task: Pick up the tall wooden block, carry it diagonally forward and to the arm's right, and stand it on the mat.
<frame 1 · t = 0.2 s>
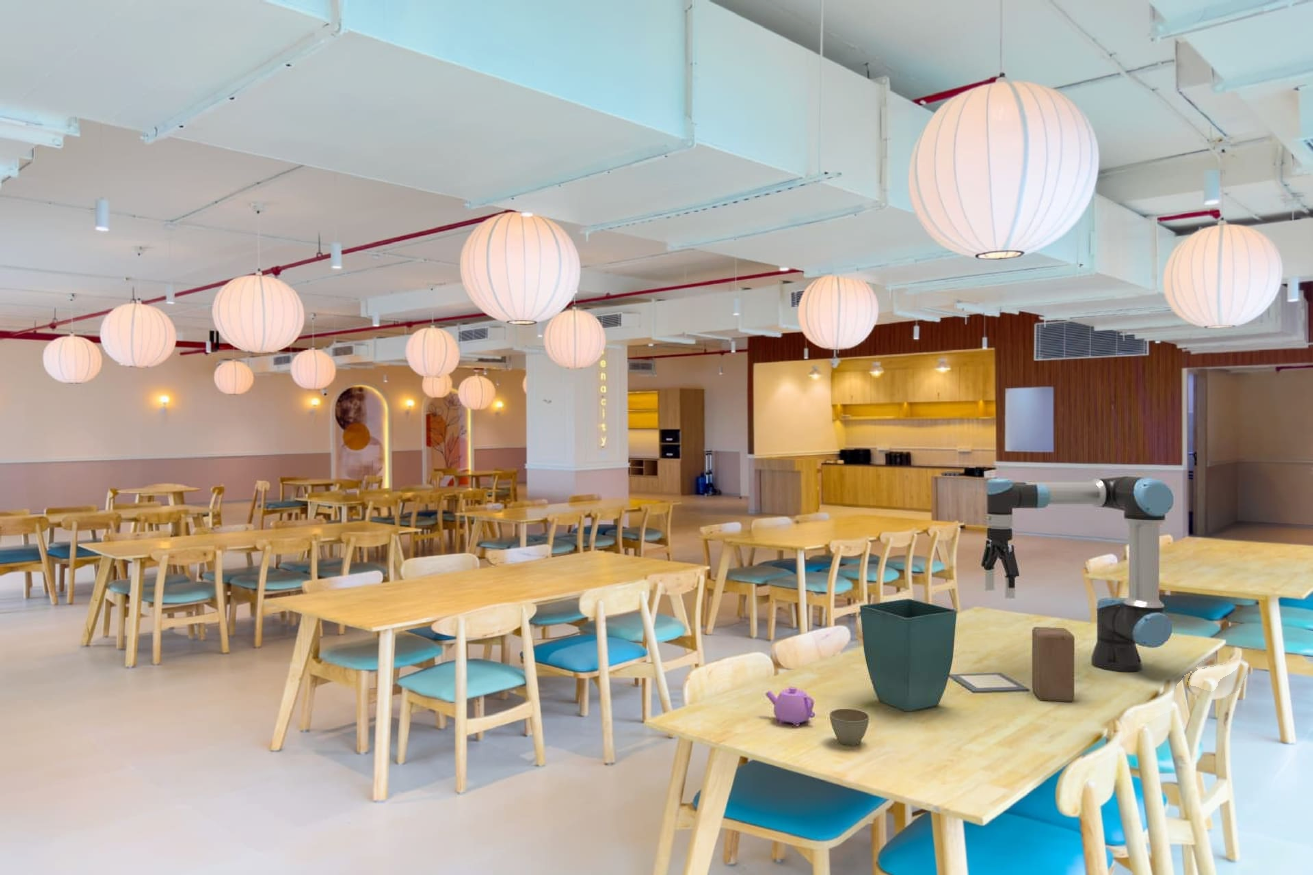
hand: (999, 594, 276), 28 cm above the table, fingers open, 13 cm apart
wooden block: (1052, 697, 262), on the table
bowl: (849, 743, 224), on the table
teapot: (789, 721, 241), on the table
mat: (987, 683, 275), on the table
flower pot: (907, 704, 255), on the table
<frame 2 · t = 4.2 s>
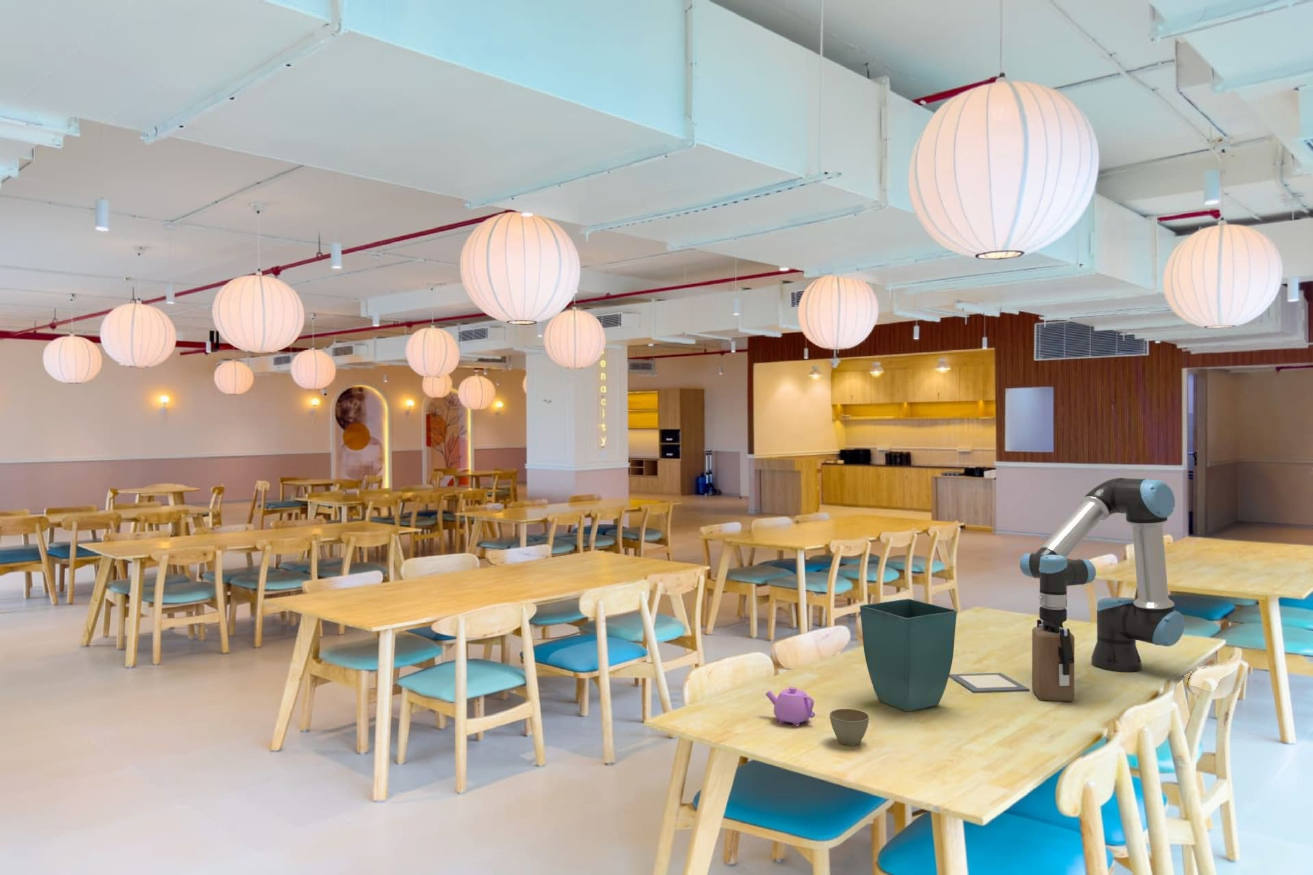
hand: (1052, 679, 262), 5 cm above the table, fingers closed on wooden block, 11 cm apart
wooden block: (1052, 697, 262), on the table, touching gripper
everything else where it was.
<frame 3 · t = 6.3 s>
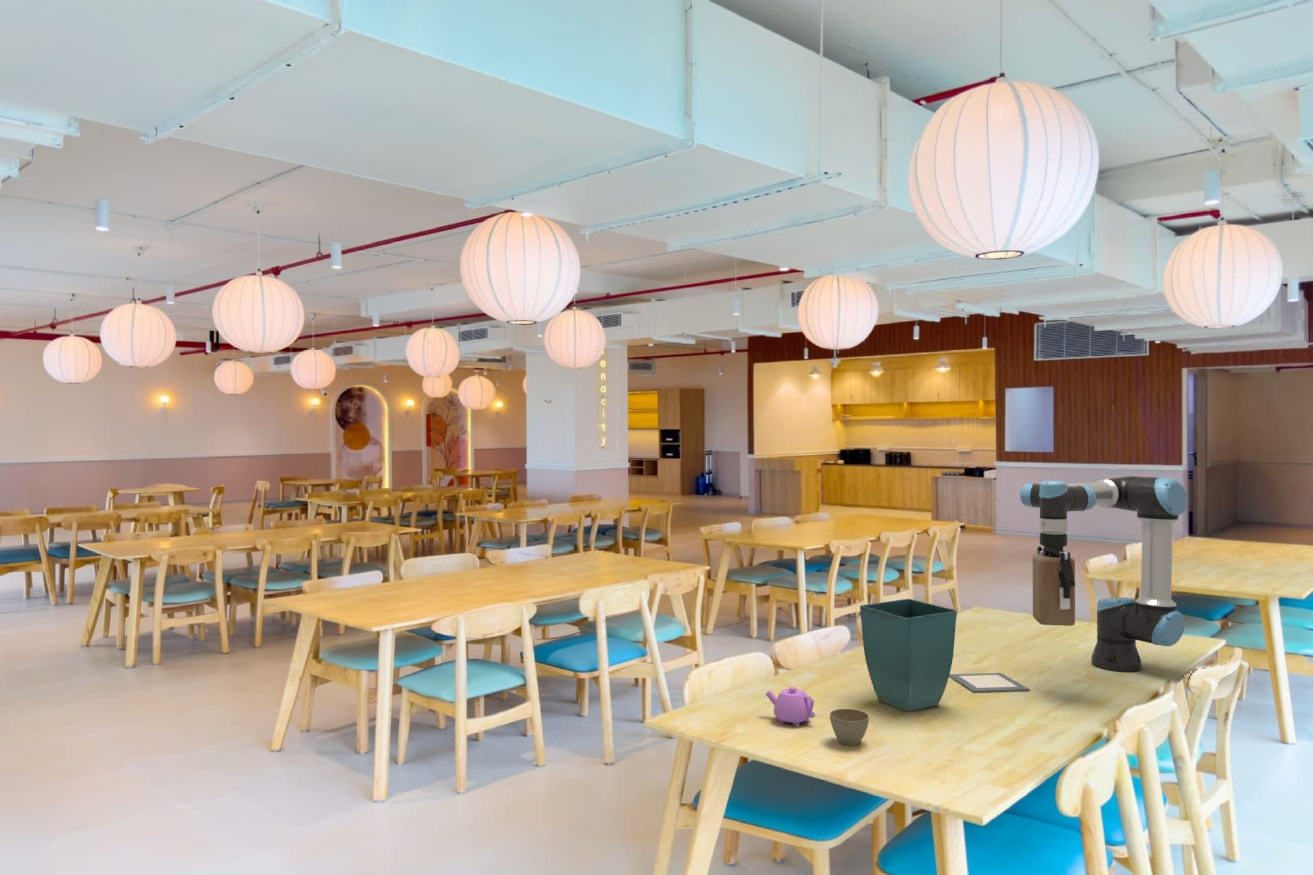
hand: (1053, 604, 261), 28 cm above the table, fingers closed on wooden block, 11 cm apart
wooden block: (1053, 622, 262), point 22 cm above the table, touching gripper
everything else where it was.
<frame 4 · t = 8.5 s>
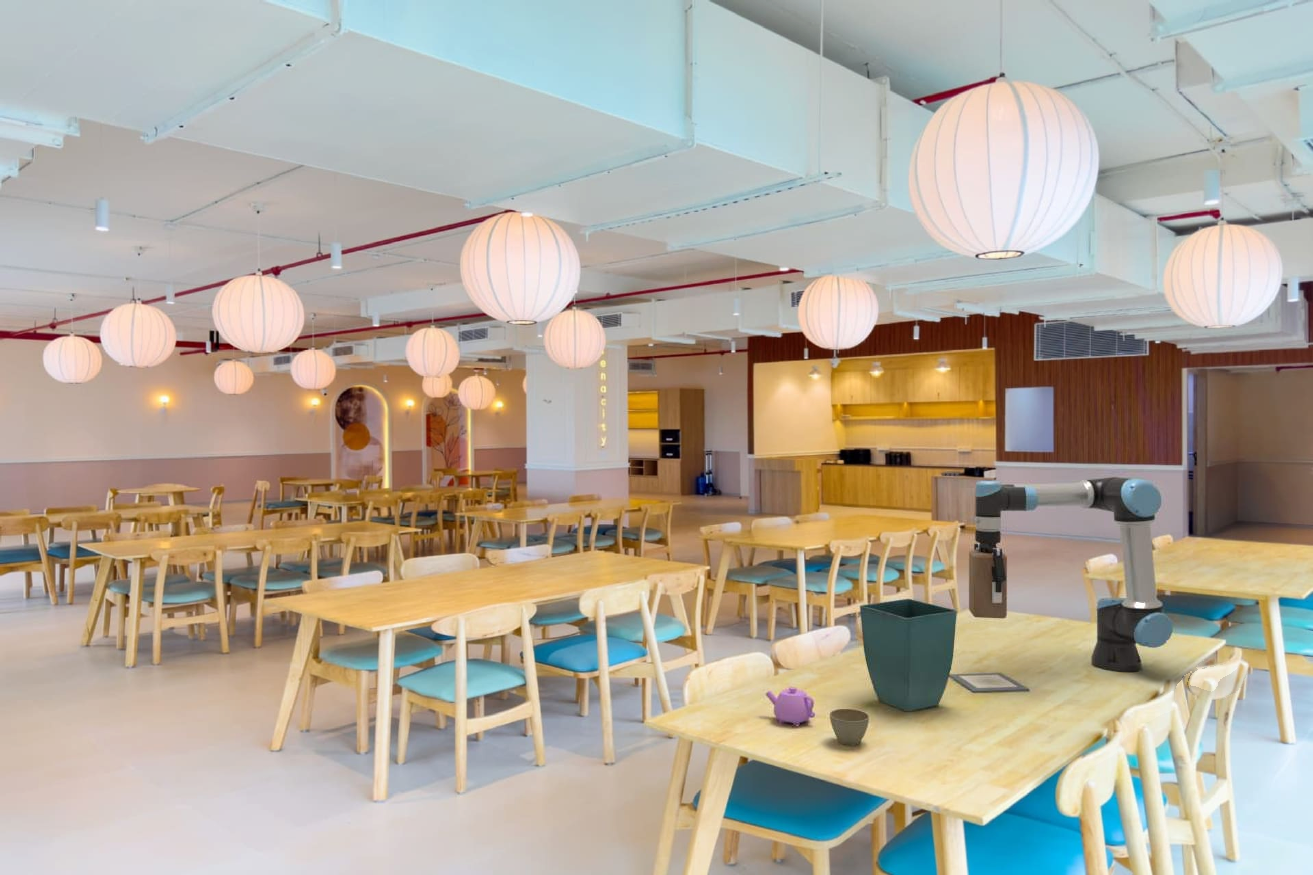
hand: (987, 598, 275), 27 cm above the table, fingers closed on wooden block, 11 cm apart
wooden block: (987, 615, 275), point 21 cm above the table, touching gripper
everything else where it was.
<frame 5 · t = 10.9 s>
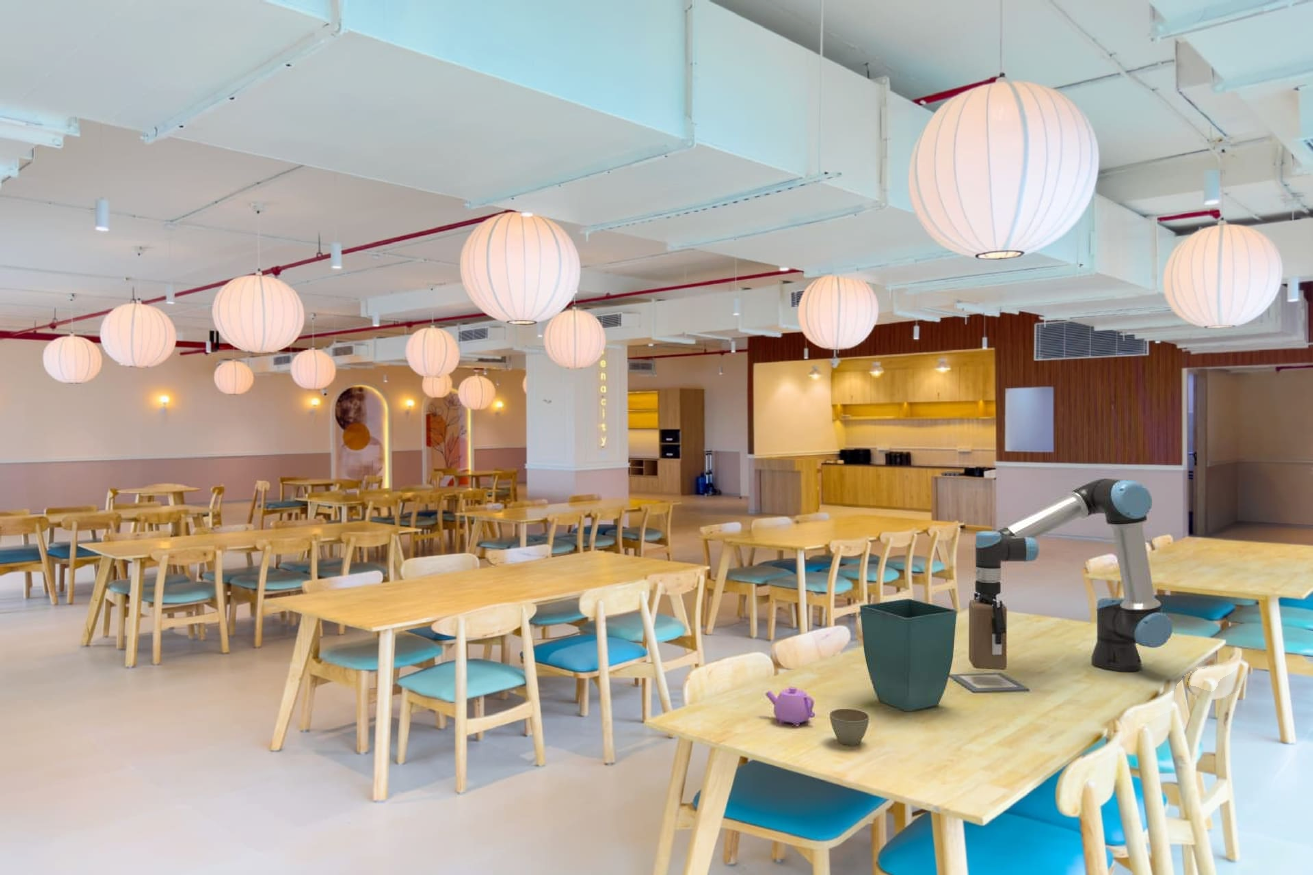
hand: (987, 649, 275), 11 cm above the table, fingers closed on wooden block, 11 cm apart
wooden block: (987, 666, 275), point 5 cm above the table, touching gripper
everything else where it was.
when the fingers open (7 cm above the table, at t = 13.0 s): wooden block stays where it is, resting on mat.
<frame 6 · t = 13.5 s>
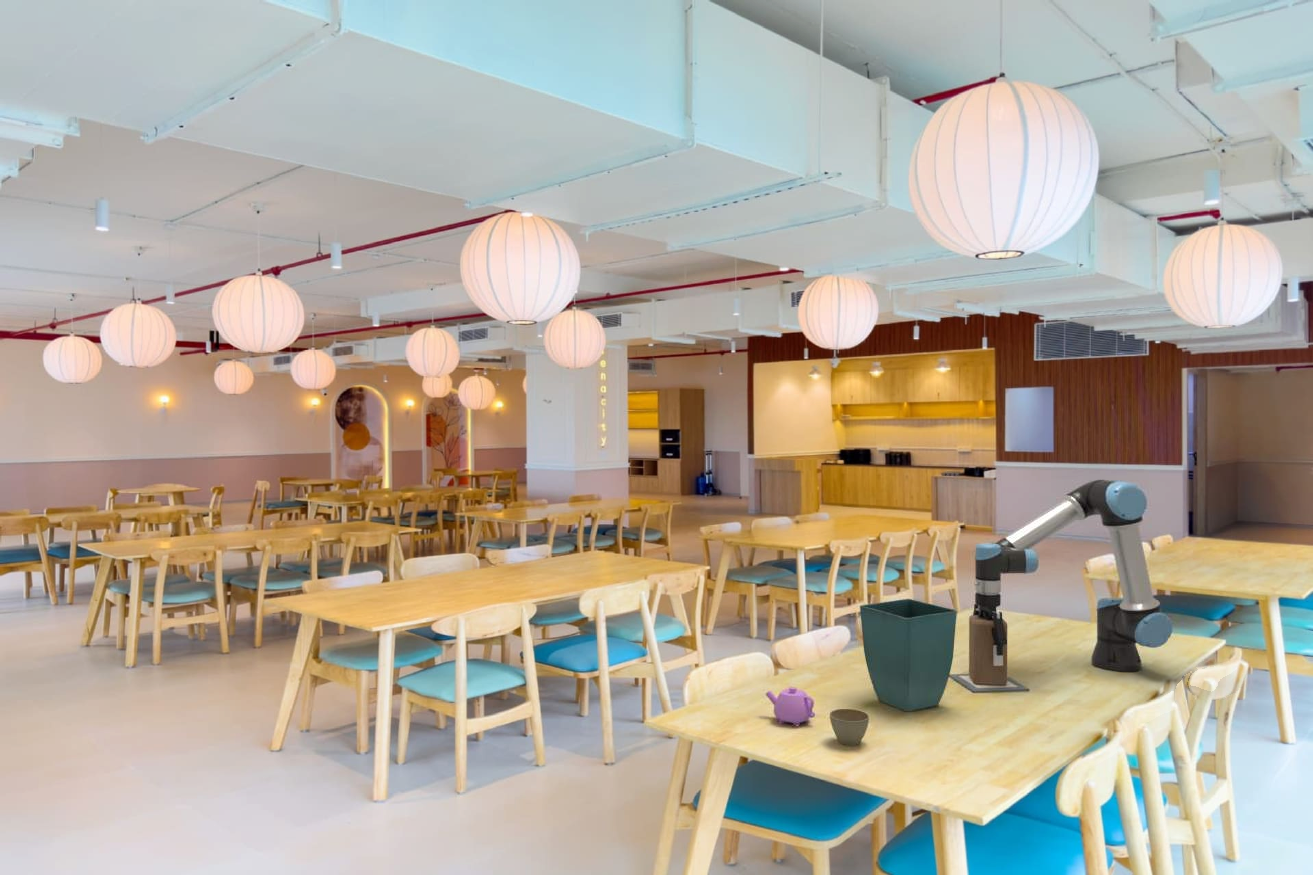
hand: (987, 659, 275), 8 cm above the table, fingers open, 13 cm apart
wooden block: (987, 681, 275), resting on mat
everything else where it was.
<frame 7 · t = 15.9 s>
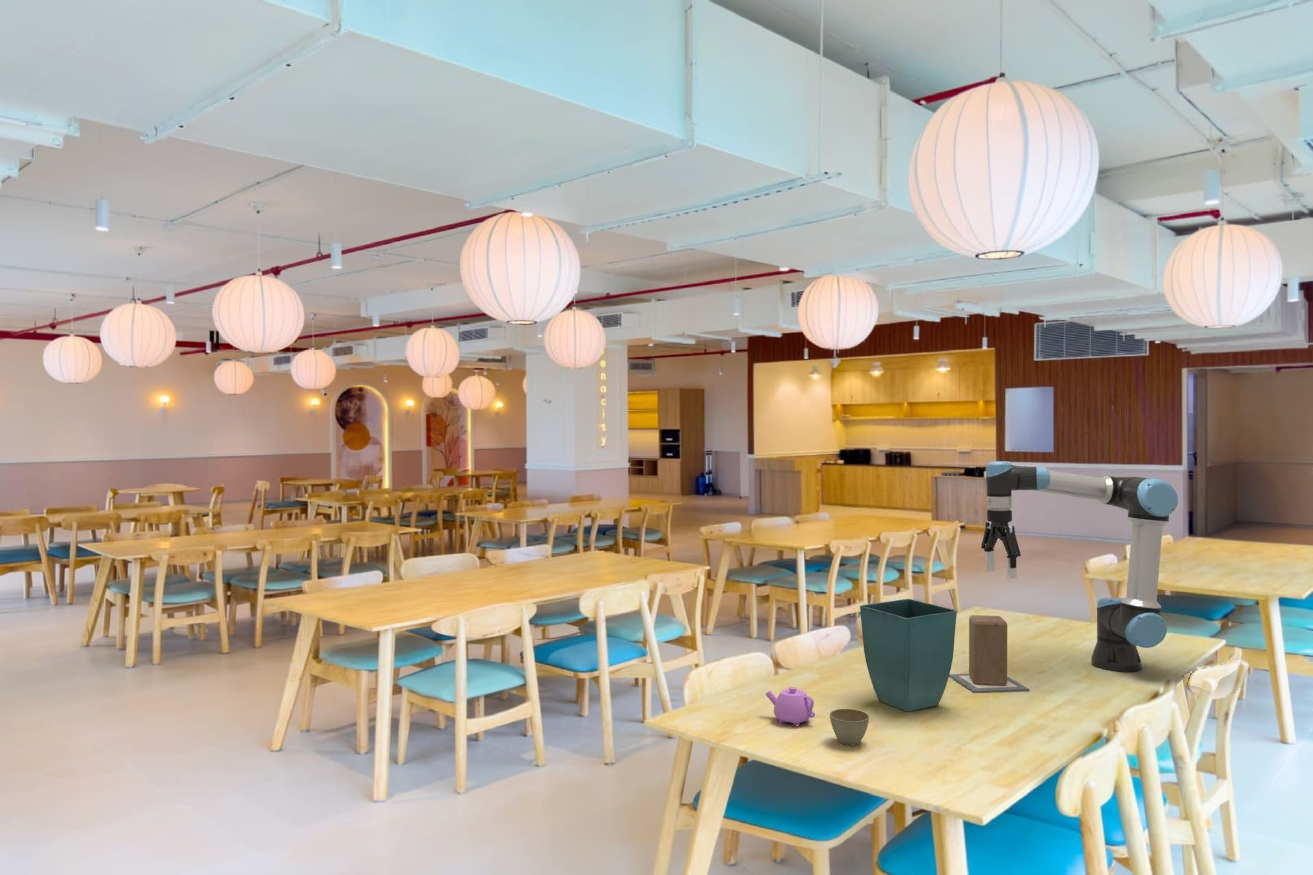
hand: (1000, 574, 282), 33 cm above the table, fingers open, 13 cm apart
nothing on the table moved.
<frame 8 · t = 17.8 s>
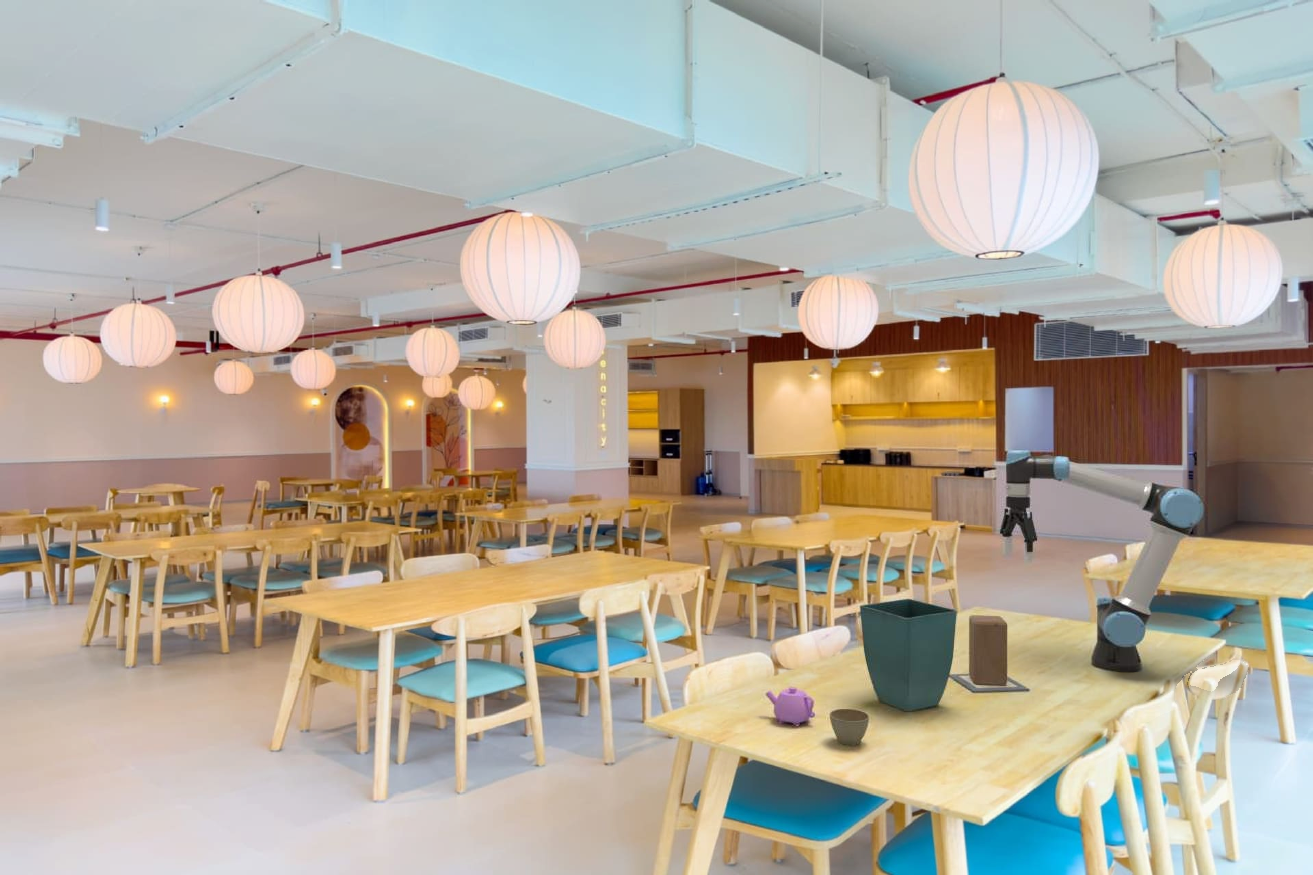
hand: (1017, 558, 294), 37 cm above the table, fingers open, 13 cm apart
nothing on the table moved.
at the end: wooden block 0.0 cm from the mat (horizontally); wooden block tilted 0°; the gripper is holding nothing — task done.
